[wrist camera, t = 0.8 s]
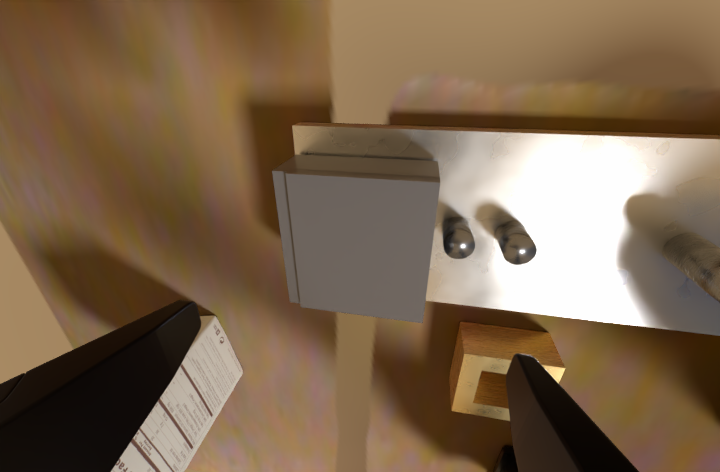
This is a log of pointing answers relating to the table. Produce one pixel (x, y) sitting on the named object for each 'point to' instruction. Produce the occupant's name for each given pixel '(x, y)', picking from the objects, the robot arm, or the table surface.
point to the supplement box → (186, 405)
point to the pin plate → (562, 218)
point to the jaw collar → (494, 366)
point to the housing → (358, 233)
